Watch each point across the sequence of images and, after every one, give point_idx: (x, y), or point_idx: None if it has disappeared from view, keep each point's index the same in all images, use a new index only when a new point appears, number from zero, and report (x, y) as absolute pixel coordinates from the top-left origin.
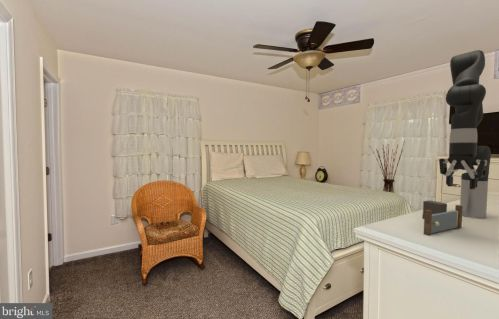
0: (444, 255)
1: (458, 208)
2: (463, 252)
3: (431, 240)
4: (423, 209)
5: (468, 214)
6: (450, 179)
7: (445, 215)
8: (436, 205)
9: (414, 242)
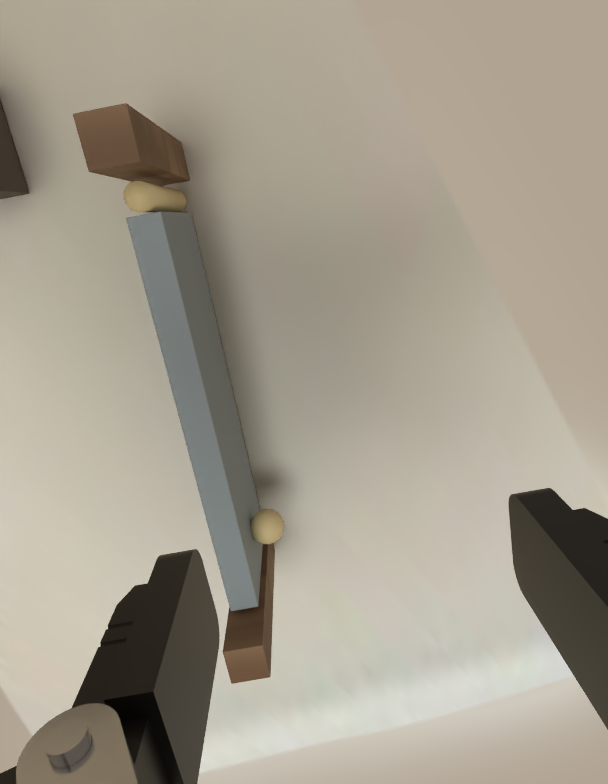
0: (501, 687)
1: (131, 167)
2: (509, 579)
3: (338, 589)
4: None
5: None
6: (197, 724)
7: (215, 416)
8: None
9: (338, 691)
